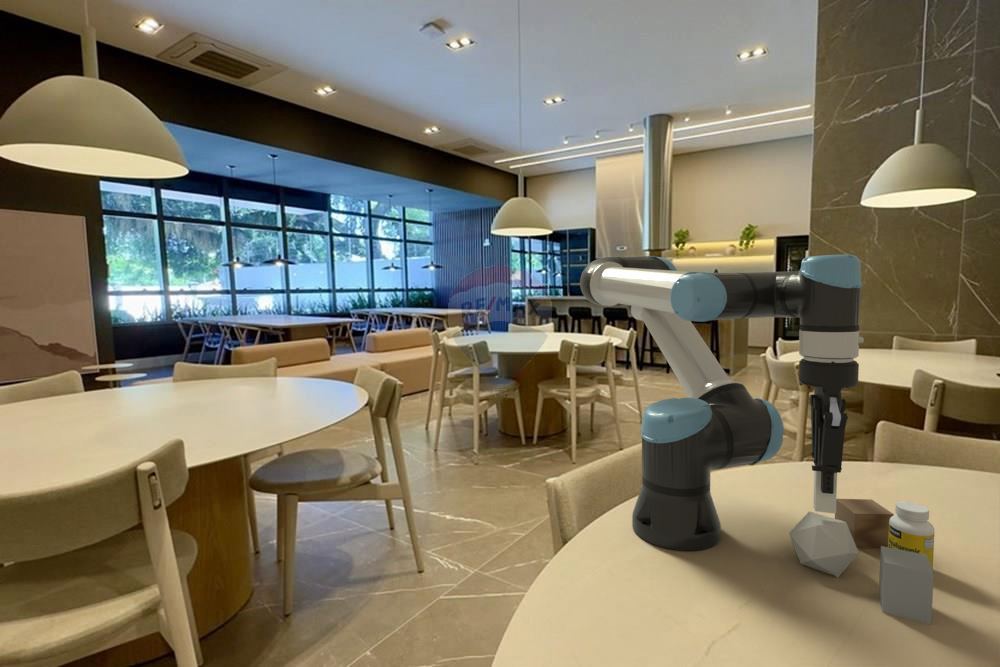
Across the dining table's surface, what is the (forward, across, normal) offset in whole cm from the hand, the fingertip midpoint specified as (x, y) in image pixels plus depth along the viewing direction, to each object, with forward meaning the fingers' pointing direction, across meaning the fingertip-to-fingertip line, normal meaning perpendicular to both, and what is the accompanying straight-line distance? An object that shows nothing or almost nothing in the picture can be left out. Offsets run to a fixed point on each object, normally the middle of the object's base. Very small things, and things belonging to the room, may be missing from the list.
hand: (824, 510), depth 78 cm
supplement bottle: (+9, +4, -12) cm, 16 cm away
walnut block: (+9, +12, -8) cm, 17 cm away
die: (+9, 0, 0) cm, 9 cm away
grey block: (+9, -8, -8) cm, 14 cm away
